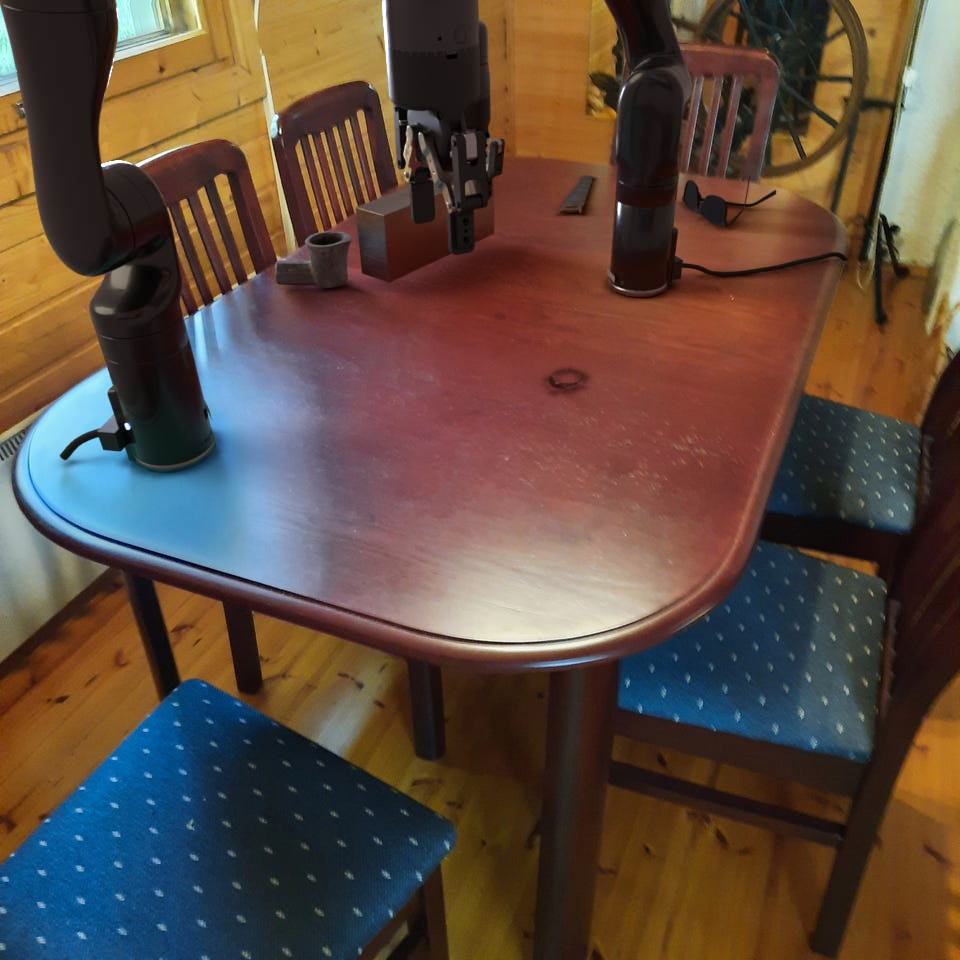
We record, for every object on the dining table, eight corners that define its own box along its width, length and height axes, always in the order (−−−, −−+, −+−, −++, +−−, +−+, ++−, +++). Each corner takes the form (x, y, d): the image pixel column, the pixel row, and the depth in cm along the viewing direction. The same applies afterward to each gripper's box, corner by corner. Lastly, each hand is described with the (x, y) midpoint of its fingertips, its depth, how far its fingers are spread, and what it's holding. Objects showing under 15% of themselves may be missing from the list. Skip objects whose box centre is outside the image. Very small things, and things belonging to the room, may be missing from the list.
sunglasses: (787, 221, 160) (792, 194, 157) (718, 230, 157) (722, 203, 154) (740, 193, 173) (744, 168, 170) (675, 201, 170) (678, 176, 167)
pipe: (280, 280, 143) (272, 233, 138) (357, 276, 144) (351, 229, 139) (276, 295, 138) (268, 248, 133) (355, 291, 139) (350, 243, 134)
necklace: (540, 387, 113) (540, 381, 112) (560, 367, 117) (560, 360, 117) (569, 395, 111) (569, 388, 111) (588, 373, 116) (588, 367, 115)
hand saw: (572, 176, 184) (572, 173, 184) (593, 177, 184) (593, 174, 183) (557, 214, 165) (557, 210, 165) (581, 215, 165) (581, 211, 164)
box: (467, 226, 155) (466, 165, 149) (494, 234, 152) (494, 172, 146) (361, 273, 139) (355, 207, 132) (389, 283, 136) (383, 215, 129)
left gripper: (357, 30, 72) (375, 219, 81) (423, 58, 61) (435, 272, 71) (439, 21, 74) (447, 206, 84) (515, 47, 64) (515, 255, 74)
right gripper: (516, 94, 136) (515, 199, 147) (448, 82, 144) (452, 183, 154) (487, 103, 132) (488, 211, 142) (418, 91, 139) (424, 194, 149)
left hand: (442, 236), depth 78 cm, fingers open, 8 cm apart
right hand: (469, 196), depth 148 cm, fingers closed on box, 6 cm apart
